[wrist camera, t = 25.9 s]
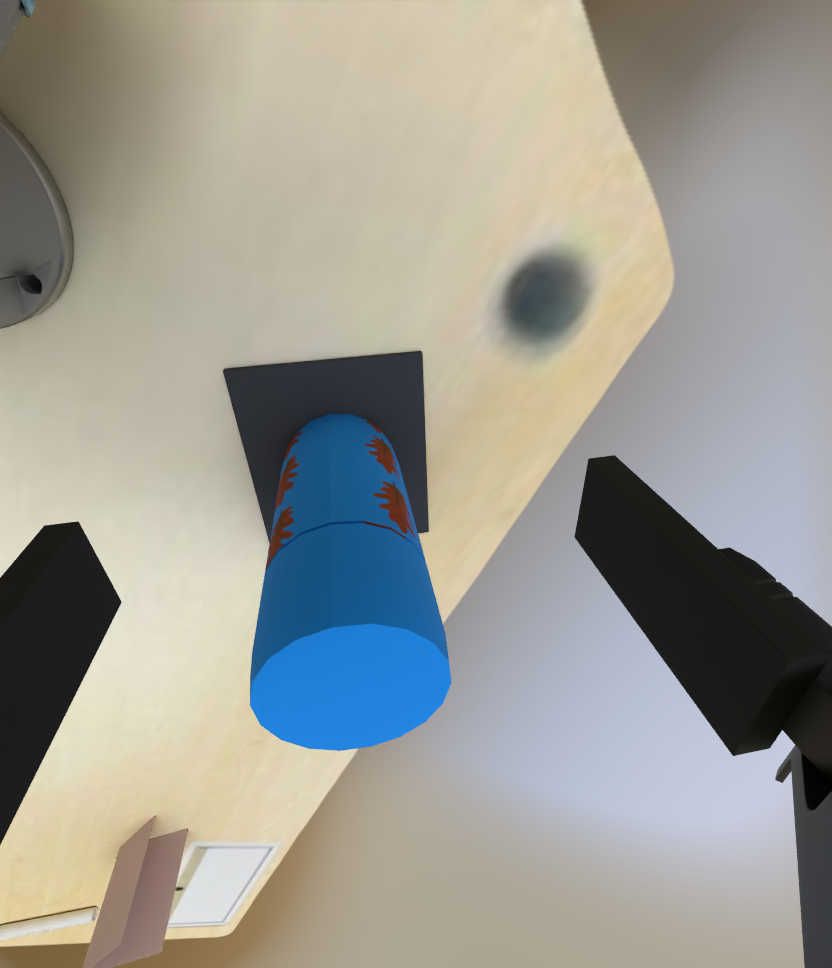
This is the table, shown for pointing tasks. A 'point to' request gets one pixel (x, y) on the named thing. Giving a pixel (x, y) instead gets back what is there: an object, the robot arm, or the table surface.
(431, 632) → the thermos
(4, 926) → the marker
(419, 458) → the desk mat
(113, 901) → the greeting card
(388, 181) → the table surface
